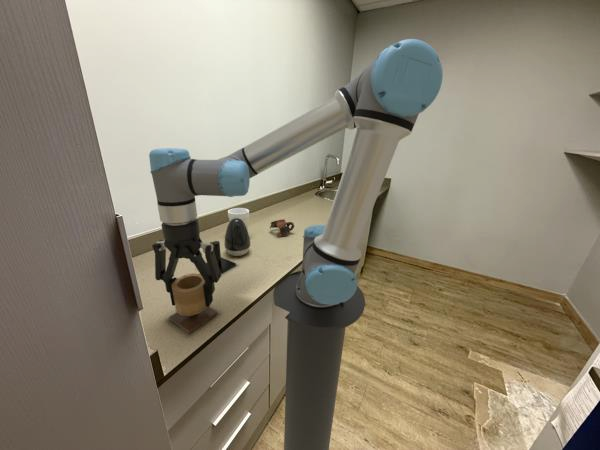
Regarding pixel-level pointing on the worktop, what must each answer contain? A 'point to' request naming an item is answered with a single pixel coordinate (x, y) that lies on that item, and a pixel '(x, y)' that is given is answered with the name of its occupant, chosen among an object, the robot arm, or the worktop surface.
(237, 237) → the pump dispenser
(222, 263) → the square base peg
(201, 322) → the low peg stand
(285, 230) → the pottery mug
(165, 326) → the worktop surface
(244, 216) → the foam cup
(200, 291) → the maple ring
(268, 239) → the worktop surface
